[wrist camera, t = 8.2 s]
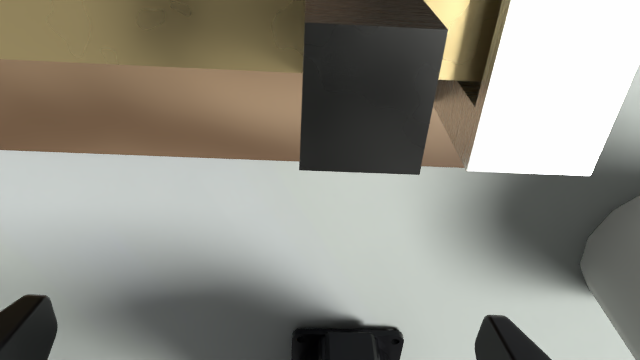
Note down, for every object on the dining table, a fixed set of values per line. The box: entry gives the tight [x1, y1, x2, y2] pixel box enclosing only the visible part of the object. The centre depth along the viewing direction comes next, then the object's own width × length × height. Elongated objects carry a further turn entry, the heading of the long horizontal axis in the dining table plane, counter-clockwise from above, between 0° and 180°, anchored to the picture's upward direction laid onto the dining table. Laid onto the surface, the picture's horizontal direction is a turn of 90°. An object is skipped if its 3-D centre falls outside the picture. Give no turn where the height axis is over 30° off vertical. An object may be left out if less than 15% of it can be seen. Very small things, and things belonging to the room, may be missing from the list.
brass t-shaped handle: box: [0, 0, 502, 175], centre depth 13 cm, size 3×22×8 cm, turn 87°
